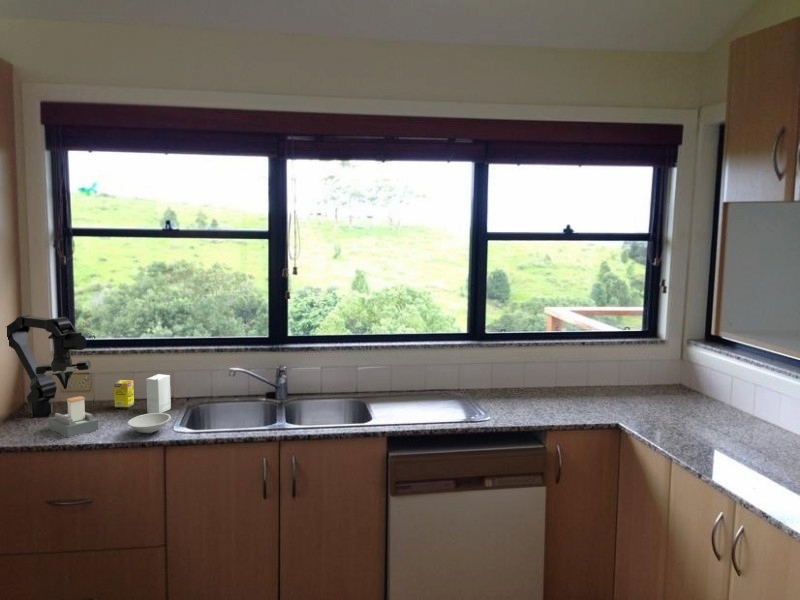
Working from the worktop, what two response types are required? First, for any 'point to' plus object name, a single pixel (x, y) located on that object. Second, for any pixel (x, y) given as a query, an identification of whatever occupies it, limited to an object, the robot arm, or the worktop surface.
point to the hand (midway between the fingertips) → (65, 388)
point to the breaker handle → (76, 408)
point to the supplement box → (124, 394)
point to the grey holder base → (72, 424)
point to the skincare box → (158, 393)
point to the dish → (149, 422)
